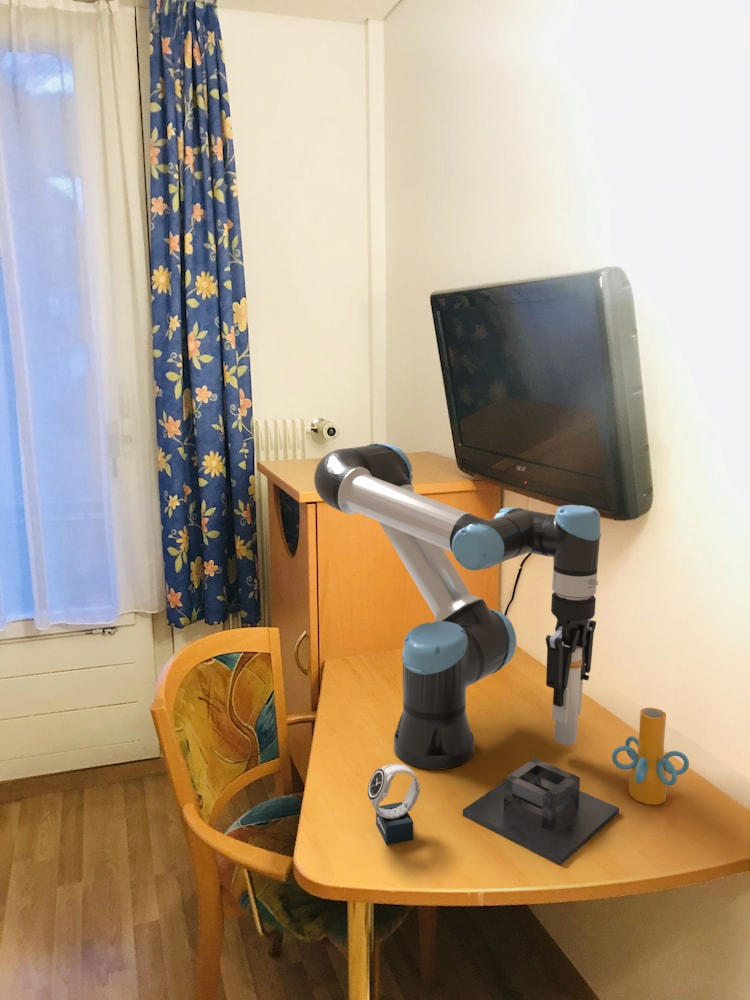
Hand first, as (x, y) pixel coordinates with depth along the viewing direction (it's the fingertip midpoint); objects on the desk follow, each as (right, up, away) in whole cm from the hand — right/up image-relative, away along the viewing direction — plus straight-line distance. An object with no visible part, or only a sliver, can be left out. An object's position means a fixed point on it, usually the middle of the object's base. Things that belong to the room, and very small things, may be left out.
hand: (566, 716), depth 141 cm
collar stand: (-8, -12, -15) cm, 21 cm away
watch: (-32, -13, -20) cm, 40 cm away
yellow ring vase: (+11, -11, -10) cm, 19 cm away
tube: (0, -5, +1) cm, 5 cm away
